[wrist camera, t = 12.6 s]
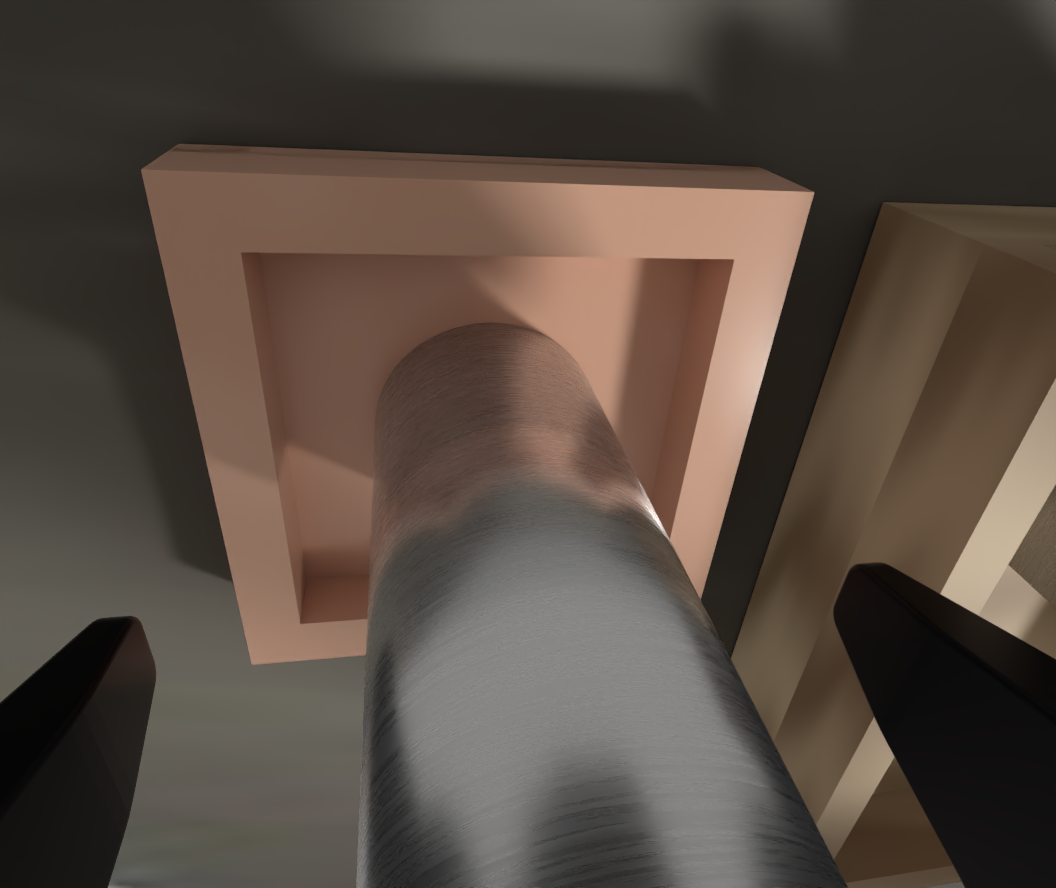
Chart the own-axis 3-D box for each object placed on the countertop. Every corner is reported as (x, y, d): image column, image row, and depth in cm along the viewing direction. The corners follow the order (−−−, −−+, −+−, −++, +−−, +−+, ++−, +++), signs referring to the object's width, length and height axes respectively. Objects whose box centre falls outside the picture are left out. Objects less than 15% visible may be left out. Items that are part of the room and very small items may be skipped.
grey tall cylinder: (581, 505, 14) (799, 1087, 6) (381, 516, 13) (367, 1180, 6) (606, 321, 12) (972, 874, 4) (368, 323, 11) (318, 983, 4)
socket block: (934, 720, 22) (1044, 867, 18) (700, 748, 21) (768, 913, 17) (1245, 213, 13) (1570, 294, 10) (883, 201, 12) (1102, 292, 8)
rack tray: (665, 569, 16) (692, 626, 15) (266, 596, 15) (251, 664, 13) (759, 166, 11) (815, 191, 10) (179, 143, 10) (140, 169, 8)
